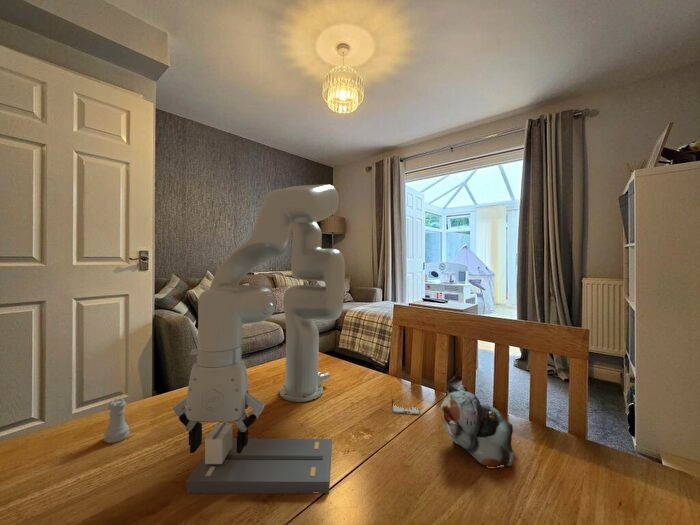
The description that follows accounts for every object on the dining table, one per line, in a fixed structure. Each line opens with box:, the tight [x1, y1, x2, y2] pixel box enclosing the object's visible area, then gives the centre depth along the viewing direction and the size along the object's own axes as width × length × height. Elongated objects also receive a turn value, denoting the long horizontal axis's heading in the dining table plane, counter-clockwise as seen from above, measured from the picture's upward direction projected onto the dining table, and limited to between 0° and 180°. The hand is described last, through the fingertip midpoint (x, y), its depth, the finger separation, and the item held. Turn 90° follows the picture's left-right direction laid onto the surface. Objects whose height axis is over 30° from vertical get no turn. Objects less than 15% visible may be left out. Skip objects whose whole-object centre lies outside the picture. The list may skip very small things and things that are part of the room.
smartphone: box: [391, 404, 422, 415], centre depth 85 cm, size 7×1×15 cm
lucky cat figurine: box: [440, 384, 515, 467], centre depth 64 cm, size 15×12×14 cm
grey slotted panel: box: [185, 437, 333, 494], centre depth 57 cm, size 24×12×2 cm, turn 91°
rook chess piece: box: [103, 398, 131, 444], centre depth 65 cm, size 4×4×8 cm
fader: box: [204, 422, 233, 464], centre depth 57 cm, size 3×5×5 cm, turn 1°
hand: (218, 448), depth 57 cm, fingers open, 7 cm apart
